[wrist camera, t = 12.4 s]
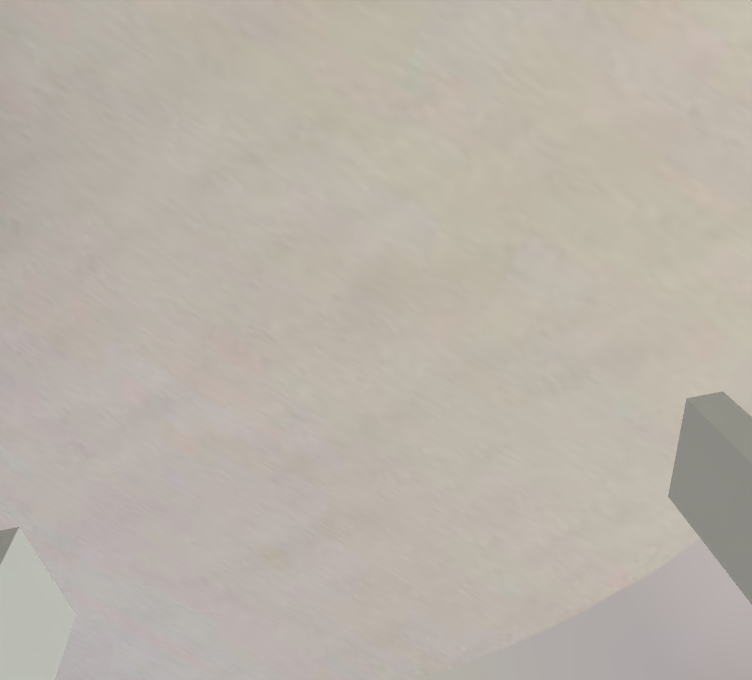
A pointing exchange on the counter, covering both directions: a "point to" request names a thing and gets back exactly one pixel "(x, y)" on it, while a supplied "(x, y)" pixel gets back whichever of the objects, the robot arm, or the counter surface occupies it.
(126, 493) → the counter surface
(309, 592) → the counter surface
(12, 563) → the robot arm
